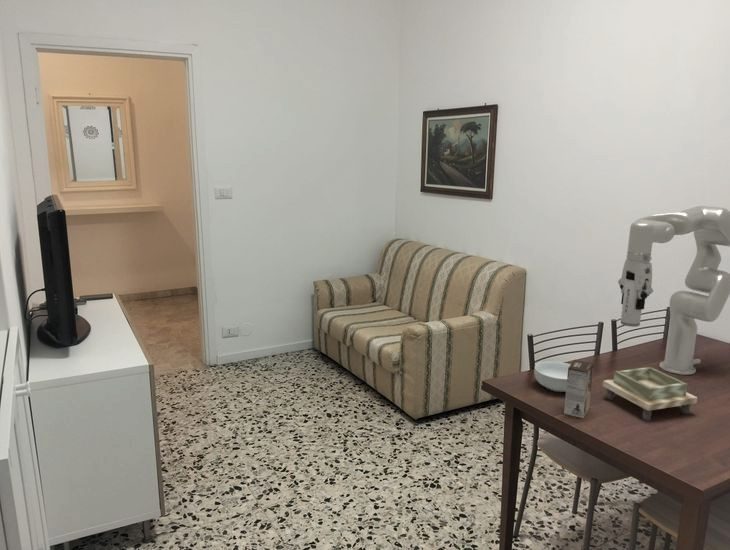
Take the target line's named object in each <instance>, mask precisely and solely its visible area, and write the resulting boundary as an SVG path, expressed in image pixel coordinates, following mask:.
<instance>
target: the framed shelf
mask: <svg viewBox="0 0 730 550" xmlns="http://www.w3.org/2000/svg"><path fill="white" fill-rule="evenodd" d="M613 375H614V376H613V379H603V381H602V387H604V388H606V389H607V391H606V399H607V400H611V401H614V399H615V394H617V395H618V396H620V397H622V398H624V399H626V400H627V401H629V402H631V403H633V404H635V405H637V406H639V407H640V408H641V409H642V416H641V419H642V420H644V421H646V422H647V421H648V422H649V421H651V418H652V411H655V410H663V409H667V408H674V407H681V408H680V413H681V414H684V415H689V414H690V410H691V405H693V404H694V405H695V404H697V403H698V397H697V396H695V395H694V394H691V393H689V392H687V391H688V390H687V389H688V383H687V382H684V381H682V380H680V379H679V378H676V377H674V376H671V375H669V374H667V373H664V372H662V371H660V370H658V369H656V368H654V367H652V366H648V367H640V368H633V369H626V370H625V369H623V370H616V371H614V374H613Z"/></svg>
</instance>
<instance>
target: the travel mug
mask: <svg viewBox="0 0 730 550" xmlns="http://www.w3.org/2000/svg"><path fill="white" fill-rule="evenodd" d="M634 278H635V274H633V273H630V272H628V271H627V272H626V280H625V288H624V297H623V305H622V306H621V316H620V317H621V318H620V324H621V325H623V326H626V327H632V328H634V327H639V326H641V320H642V319H641V318H642V317H641V316H642V310H643V309H641V310H637V309H636V300H637V298H638V293H637V290H635V283H634V282H635V279H634ZM642 290H643V288H642ZM641 294H643V292H641Z"/></svg>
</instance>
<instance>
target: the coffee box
mask: <svg viewBox="0 0 730 550" xmlns="http://www.w3.org/2000/svg"><path fill="white" fill-rule="evenodd" d="M594 365H595V363H594V362H589V361H583V360H578V359H573V360H572V362H571V364H570V366H569V368H568V376H567V387H566V392H565V399H564V409H563V414H564V415H568V416H572V417H577V418H581V419H584V418H585V417H586V415H587V413H588V412H589V409H590V403H591V394H592V386H593V385H592V383H593V376H594V375H593V374H594V367H595V366H594Z"/></svg>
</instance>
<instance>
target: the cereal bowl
mask: <svg viewBox="0 0 730 550" xmlns="http://www.w3.org/2000/svg"><path fill="white" fill-rule="evenodd" d="M570 365H571V364H570V363H566V362H561V361H554V360H553V361H552V360H551V361H549V360H548V361H547V360H546V361H540V362H538V363H536V364H535V366H534V368H533V369H534V370H533V371H534V372H533V373H534V378H535V379H536V381H537V382H538V384H540V385H541V386H543V387H545V388H546V389H547V390H549V389H550V390H549V391H552V390H553V392H557V393H566V387H567V376H568V368H569V366H570Z"/></svg>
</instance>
